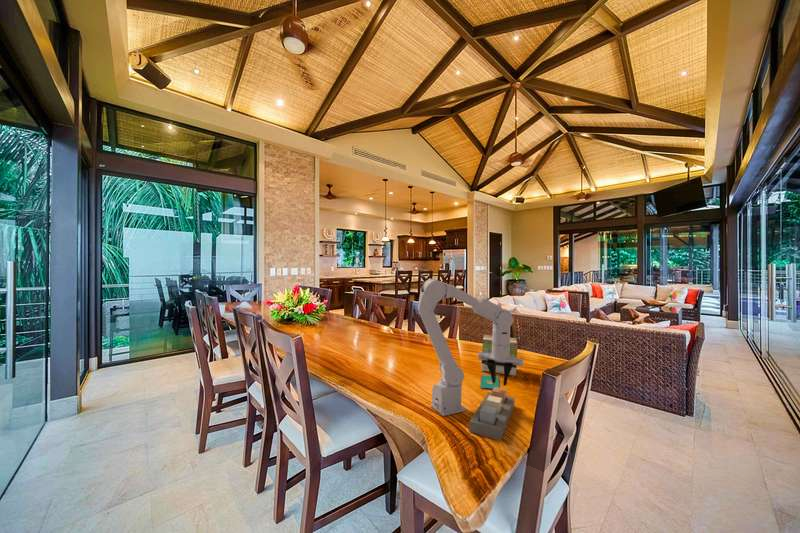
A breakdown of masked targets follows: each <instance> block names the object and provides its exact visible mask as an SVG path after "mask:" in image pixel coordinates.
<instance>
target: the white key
mask: <svg viewBox="0 0 800 533" xmlns="http://www.w3.org/2000/svg"><path fill="white" fill-rule="evenodd" d="M486 406H490V407H494V408H497V413H499V414H501V412H502V398H499V397H495V396H490V395H489V397H488V398H487V401H486Z"/></svg>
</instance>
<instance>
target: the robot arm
mask: <svg viewBox="0 0 800 533" xmlns="http://www.w3.org/2000/svg"><path fill="white" fill-rule="evenodd" d="M419 292H420V294H419V298H418V304H417V311H418V313H419V316H420V318H421V320H422V323H423V325H424V328H425V330H426V332H427V334H428V337H429V339H430V341H431V343H432V347H433V348H434V351H435V353H436V355H437V359H438V361H439V371H440V373H441V374H442V375H441V377H440V381H438V382H437V383H435V384H433V386H432V389H431V404H430V407H432V408H433V409H434V410H435V411H437V412H438V413H439V414H440V415H442V417H446V416H450V415H453V414H457V413H462V412H466V411H467V408H466V407H465V406H463V405H462V394H463V393H462V392H463V391H462V388H463V381H464V379H465V373H464V371H463V369H462V368H461V367H460V366H459V365H458V363H457V362H456V360H455V358H454V355H453V354H452V352H451V349H450V347H449V345H448V342H447V340H446V337H445V335H444V333H443V330H442V328H441V325H440V323H439V321H438V318H437V316H436V313H435V312H434V310H435V309H436V307H437V304H438V303H439V302H440V301H441V300H442V299H443V298H445V299H449V298H454V299H456V300H458V301H460V302H462V303H464V304H466V305H468V306H470V307H471V308H472V311H473V312H474V313H475V314H477V315H479V316H480V317H483V318H485V319H486V320H488V321H491V322H492V335H491V336H492V354H491V353H482V352H479V353H478V356H477V358H478V360H481V361H482V359H483V360H487V367H488V369H489V371H490V372H489V373H490V376H491V377H492V383H495V382H496V375H497V373H496V363H497V362H501V363H506V364H505V365H504V374H503V386H507V383H508V379H509V376H510V375H509V373H510V371H511V369H512V367H513V365H517V366H519V367H521V368H523V367H524V359H522V358H518V357H517V358H514V357H511V356H509V352H510V338H511V326H512V325H513V324H514V322H515V318H514V316H513V314H512V312H511V311H510V310H508V309H505V308H503V307H502V305H500V304H498V303H497V304H496V303H494V302H492V301H490V298H488V297H486V296H485V297H482V296H480V297H477V298H476V297H474V296H473V295H471V294H468V293H467V292H465V291H464V290H462V289H460V288H458V287H456V286H455V285H452V284H449V283H445V282H444V281H441V280H437V279H435V278H428V279H427V280H425V281H424V282H423V284H422V286H421V287H420V291H419Z"/></svg>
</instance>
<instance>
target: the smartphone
mask: <svg viewBox="0 0 800 533" xmlns="http://www.w3.org/2000/svg"><path fill="white" fill-rule="evenodd" d="M494 387H498V388H501V387H500V379H499V376H496V382H495V383H492V377H491V375H489V374H488V375H487V374H481V375H480V389H481V390H486V391H487V390H488V391H492V390H493V388H494Z"/></svg>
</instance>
